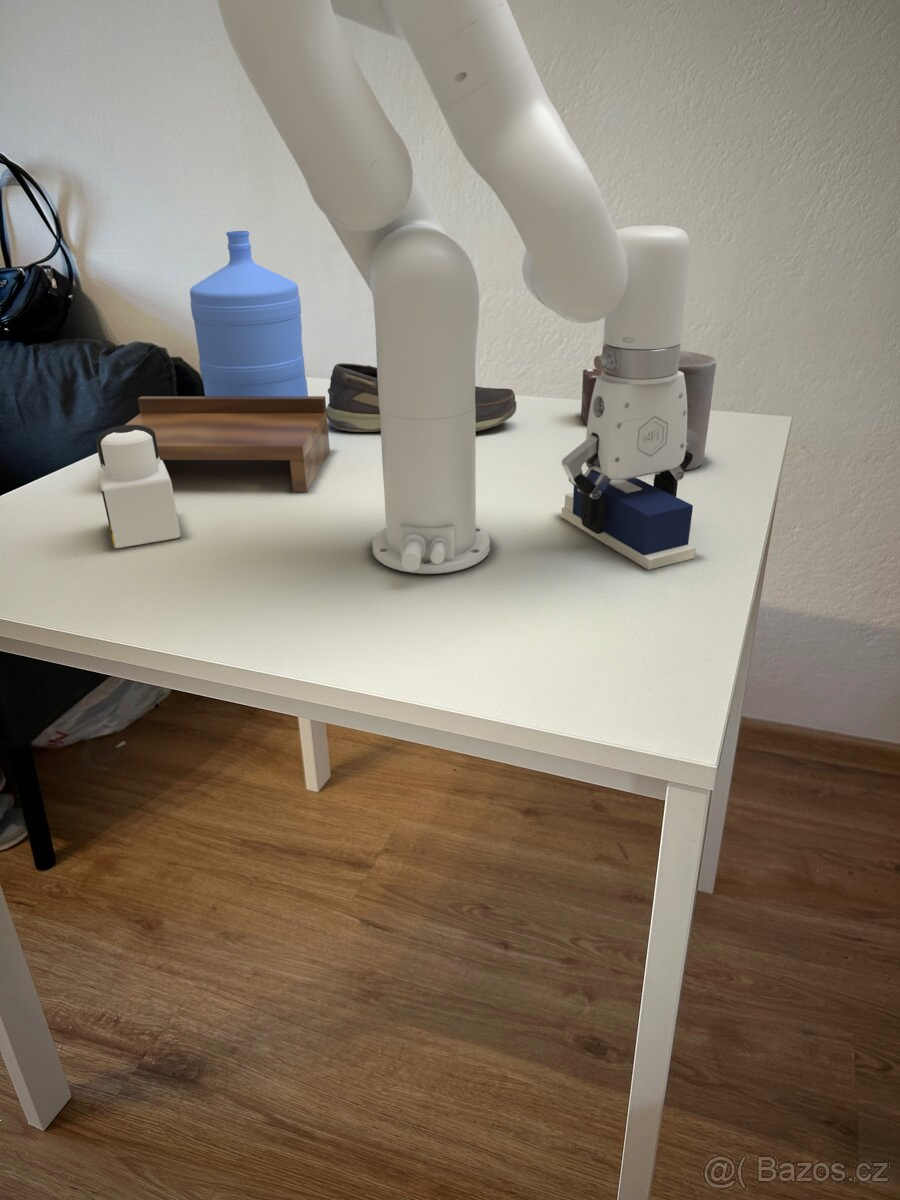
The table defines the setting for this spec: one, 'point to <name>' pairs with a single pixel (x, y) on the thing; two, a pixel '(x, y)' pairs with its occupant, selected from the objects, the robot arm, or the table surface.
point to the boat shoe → (360, 403)
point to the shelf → (240, 430)
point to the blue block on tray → (639, 522)
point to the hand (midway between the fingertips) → (628, 520)
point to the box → (588, 390)
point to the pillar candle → (698, 396)
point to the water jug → (248, 328)
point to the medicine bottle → (136, 487)
